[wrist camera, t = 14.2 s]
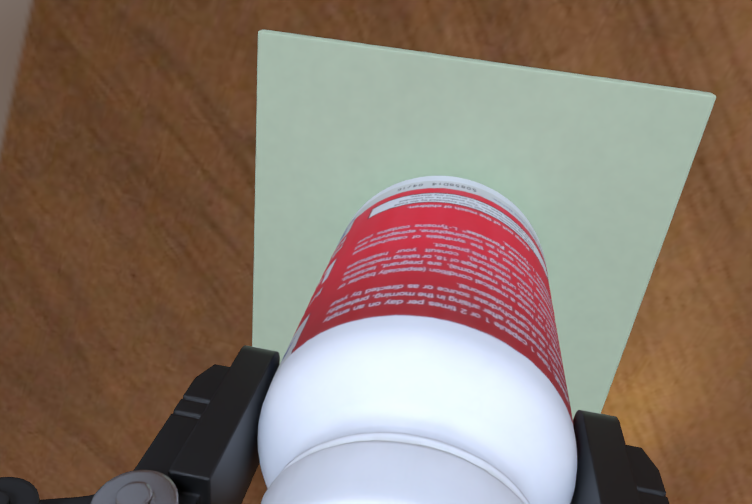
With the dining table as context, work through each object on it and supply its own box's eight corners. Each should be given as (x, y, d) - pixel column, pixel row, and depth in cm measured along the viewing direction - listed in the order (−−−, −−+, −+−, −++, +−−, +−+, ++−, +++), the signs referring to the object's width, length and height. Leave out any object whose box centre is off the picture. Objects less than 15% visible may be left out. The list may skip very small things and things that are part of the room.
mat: (254, 372, 23) (251, 379, 22) (262, 28, 17) (257, 31, 17) (587, 437, 22) (589, 446, 21) (712, 92, 16) (717, 96, 16)
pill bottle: (325, 177, 18) (136, 455, 8) (541, 159, 17) (614, 462, 7) (357, 352, 21) (242, 717, 11) (546, 348, 20) (604, 755, 10)
